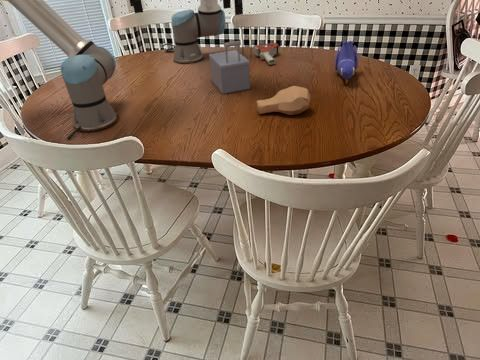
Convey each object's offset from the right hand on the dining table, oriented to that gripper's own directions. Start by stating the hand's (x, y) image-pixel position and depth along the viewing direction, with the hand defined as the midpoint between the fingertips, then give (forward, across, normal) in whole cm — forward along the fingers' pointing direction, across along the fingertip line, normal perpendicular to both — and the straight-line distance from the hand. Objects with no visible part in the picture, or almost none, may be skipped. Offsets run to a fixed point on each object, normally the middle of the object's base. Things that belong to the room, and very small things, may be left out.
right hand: (232, 11), depth 131 cm
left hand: (-4, +2, +34) cm, 34 cm away
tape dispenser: (+31, +36, -28) cm, 55 cm away
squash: (+31, -25, -9) cm, 41 cm away
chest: (+31, +10, 0) cm, 33 cm away
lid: (+21, +9, 0) cm, 23 cm away
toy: (+31, -7, -48) cm, 58 cm away
